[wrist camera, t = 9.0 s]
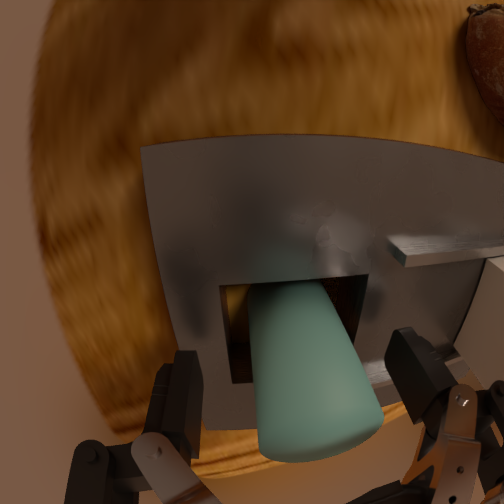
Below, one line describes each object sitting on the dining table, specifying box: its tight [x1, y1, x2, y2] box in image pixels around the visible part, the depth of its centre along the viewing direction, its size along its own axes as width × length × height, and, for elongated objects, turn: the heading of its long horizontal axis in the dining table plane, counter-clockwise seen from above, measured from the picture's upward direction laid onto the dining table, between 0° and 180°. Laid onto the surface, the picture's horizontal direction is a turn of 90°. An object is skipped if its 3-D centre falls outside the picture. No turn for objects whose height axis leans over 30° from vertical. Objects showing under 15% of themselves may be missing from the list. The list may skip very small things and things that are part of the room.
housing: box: [140, 134, 504, 430], centre depth 12 cm, size 16×20×4 cm
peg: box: [247, 278, 384, 463], centre depth 10 cm, size 4×4×8 cm
